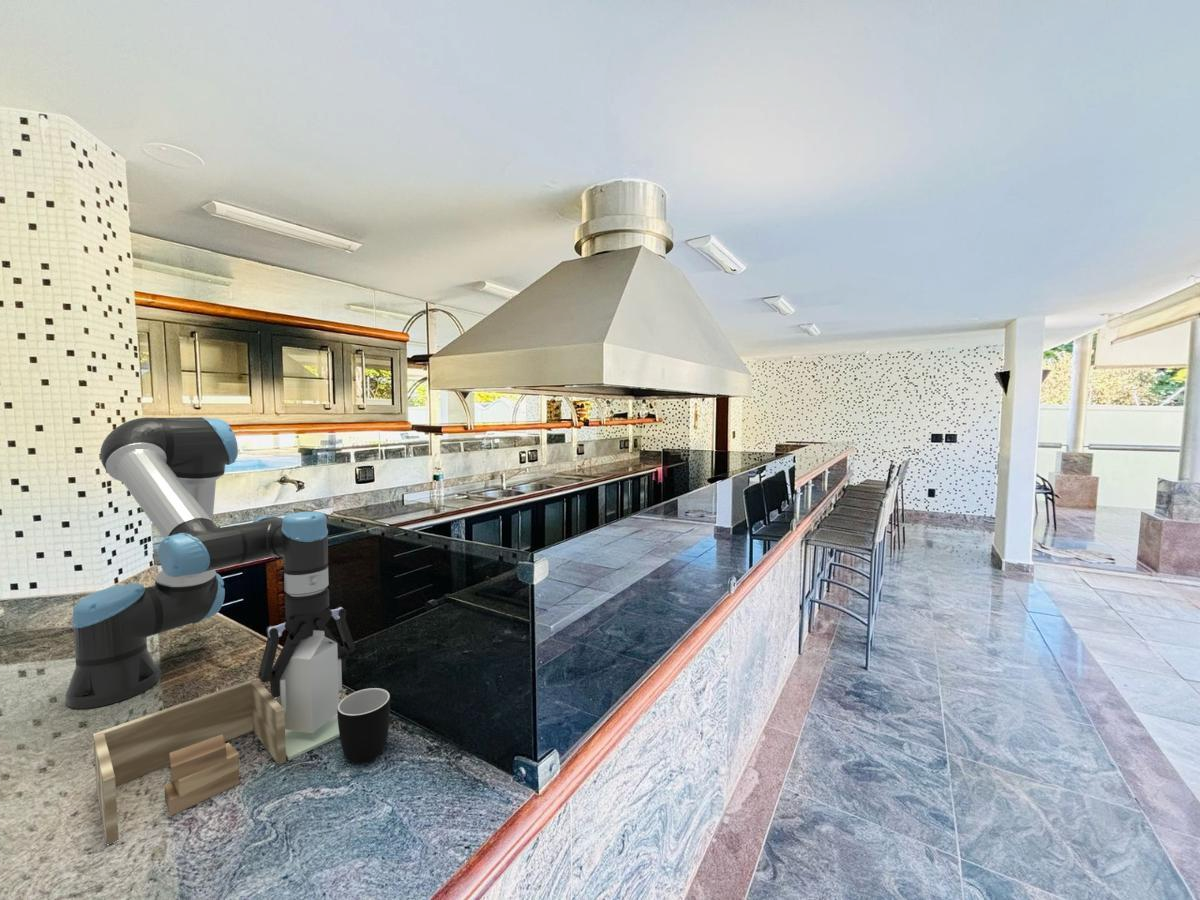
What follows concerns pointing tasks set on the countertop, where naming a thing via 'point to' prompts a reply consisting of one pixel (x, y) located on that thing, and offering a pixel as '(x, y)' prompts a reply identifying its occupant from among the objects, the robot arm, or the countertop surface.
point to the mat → (310, 738)
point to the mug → (364, 724)
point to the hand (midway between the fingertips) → (310, 698)
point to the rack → (182, 738)
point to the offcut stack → (201, 773)
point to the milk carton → (311, 684)
